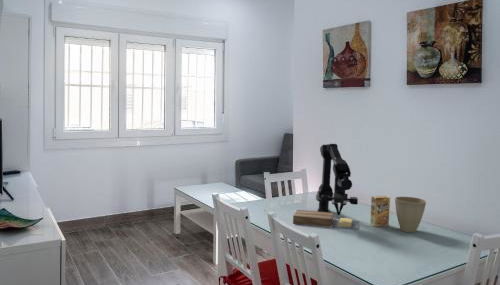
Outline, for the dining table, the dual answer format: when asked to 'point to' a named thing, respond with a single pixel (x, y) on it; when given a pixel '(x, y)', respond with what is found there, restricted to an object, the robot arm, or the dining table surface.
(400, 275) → the dining table surface
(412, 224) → the plant pot
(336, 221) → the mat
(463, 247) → the dining table surface
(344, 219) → the yellow rectangular block
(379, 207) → the candy box
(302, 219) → the brown wooden flat block
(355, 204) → the robot arm
